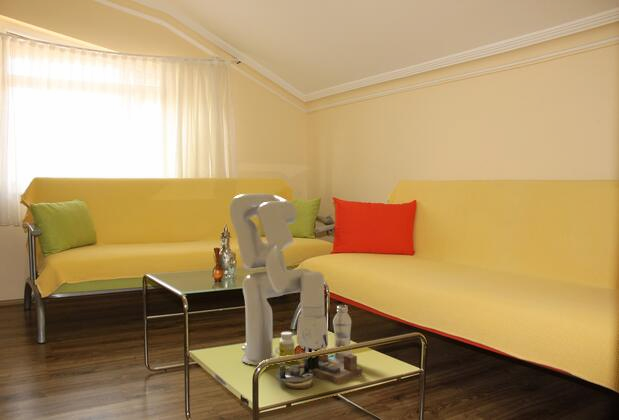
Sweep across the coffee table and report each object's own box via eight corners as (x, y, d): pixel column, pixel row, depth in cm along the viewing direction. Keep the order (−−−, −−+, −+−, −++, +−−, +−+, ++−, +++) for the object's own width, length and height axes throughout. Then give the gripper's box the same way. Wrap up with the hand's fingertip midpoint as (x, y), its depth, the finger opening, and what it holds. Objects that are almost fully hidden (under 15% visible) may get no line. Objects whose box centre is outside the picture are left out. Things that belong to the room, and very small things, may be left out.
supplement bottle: (277, 358, 193) (277, 331, 193) (292, 357, 195) (292, 330, 194) (281, 363, 188) (281, 335, 188) (296, 361, 190) (296, 334, 189)
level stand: (298, 370, 180) (298, 351, 180) (322, 362, 189) (322, 344, 188) (337, 384, 167) (337, 364, 167) (362, 374, 176) (362, 355, 176)
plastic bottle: (352, 365, 185) (352, 308, 184) (333, 365, 185) (332, 308, 185) (351, 359, 192) (351, 304, 191) (332, 359, 192) (332, 304, 191)
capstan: (269, 384, 166) (268, 364, 166) (290, 373, 176) (290, 354, 176) (300, 392, 160) (300, 371, 160) (320, 380, 170) (320, 360, 169)
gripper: (287, 309, 171) (288, 366, 172) (321, 316, 161) (322, 377, 161) (304, 306, 177) (305, 360, 177) (338, 312, 166) (338, 370, 167)
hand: (313, 368), depth 169 cm, fingers closed
